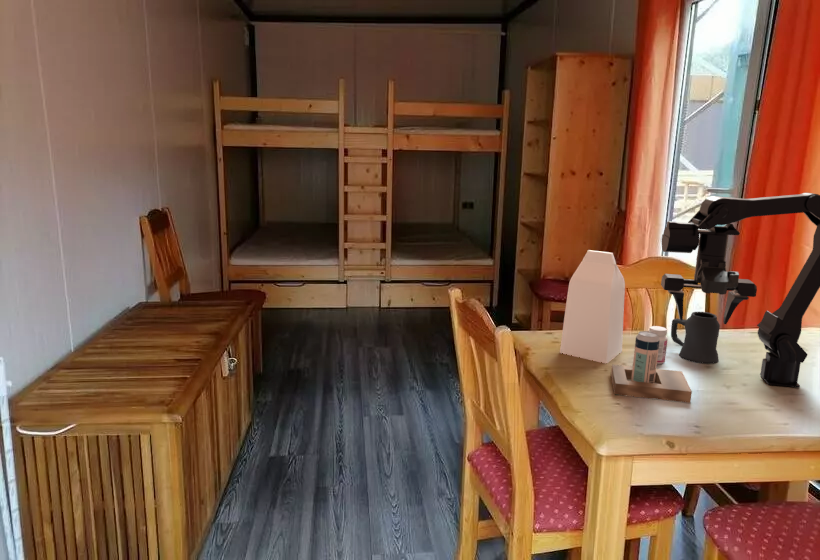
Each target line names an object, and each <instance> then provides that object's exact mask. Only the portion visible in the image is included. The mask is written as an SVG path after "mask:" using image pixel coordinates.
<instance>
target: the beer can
mask: <svg viewBox="0 0 820 560" xmlns="http://www.w3.org/2000/svg"><path fill="white" fill-rule="evenodd" d="M659 342H660V339H659V337H658V335H657V334H656V333H653V332H649V330H648V331H647V330H642V331H639V332H638V334H637V335H636V336H635V343H634V350H633V352H634V353H633V361H632V366H633V368H632V377H631V381H637V382H646V383H655V375H656V369H657V365H658V364H657V358H658V350H659Z"/></svg>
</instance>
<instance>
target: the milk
mask: <svg viewBox="0 0 820 560" xmlns="http://www.w3.org/2000/svg"><path fill="white" fill-rule="evenodd" d="M625 291H626V282H625V278H624V275H623V274H622V272H621V271H620V268H619V266H618V265H617V261H616V258H615V256H614V252H609V251H599V250H591V249H588V250H587V252H586V253H585V255H584V256H583V258H582V261H581V262H580V263H579V265H578V266H577V268H576V269H575V271H574V272H573V274H572V276H571V278H570V280H569V283H568V289H567V295H566V297H567V298H566V303H565V310H564V318H563V325H562V333H561V342H560V348H559V354H562V353H563V355H566V354H567V356H571V355H572V357H575V358H579V357H580V359H584V360H589V361H592V360H593V362H598V363H601V362H602V363H601V364H606V363H607V364H608V363H610V362H611V361H612V360H613V359H614V358H616V357H617V356H619V353H620V354H621V353H623V338H624V337H623V335H624V314H625V310H624V309H625Z"/></svg>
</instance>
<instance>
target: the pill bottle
mask: <svg viewBox="0 0 820 560" xmlns="http://www.w3.org/2000/svg"><path fill="white" fill-rule="evenodd" d="M648 332H653V333H656V334H657V335H658V337H659V339H660V342H659V350H658V358H657V365H662V364H665V362H666V356H667V355H666V354H667V347H668V336H667V334H668V329H667V328H666V327H664V326H659V325H652V326H649V330H648Z"/></svg>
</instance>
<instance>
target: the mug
mask: <svg viewBox="0 0 820 560" xmlns="http://www.w3.org/2000/svg"><path fill="white" fill-rule="evenodd" d="M678 324H679V325H682V326H684V330H685V335H684V341H682V339H680V338H679V337H678V332H677V331H678ZM720 328H721V325H720V323H719V320H718V316H717V315H716V314H714V313H712V312H706V311H693V312H691V314H690V316H689V317H688V318H687V319H684V318H683V319H682V321H681V320H680V319H679V318H673V319H672V320H671V328H670V336H671V340H672V342H674V343H676V344H677V345H679V346H681V348H680V351H679V353H678V355H679V357H680V358H681V359H683V360H685V361H688V362H691V363H695V364H700V365H701V364H702V365H705V364H707V365H713V364H717V363H718V362H719V359H720V358H719V354H718V349H717V345H718V339H719V335H720Z"/></svg>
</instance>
